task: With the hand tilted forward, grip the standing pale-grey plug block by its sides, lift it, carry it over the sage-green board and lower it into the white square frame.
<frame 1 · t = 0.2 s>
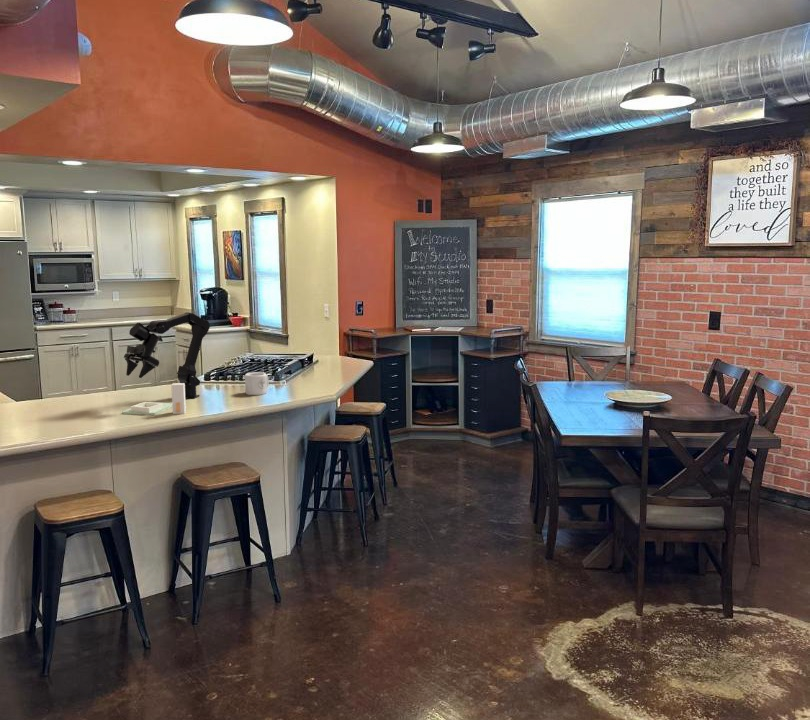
hand: (133, 376, 308), 15 cm above the countertop, tool tilted 35°, fingers open, 9 cm apart
mug: (258, 393, 348), on the countertop
board: (149, 409, 309), on the countertop
plug: (179, 412, 303), on the countertop
white square frame: (147, 411, 305), resting on board
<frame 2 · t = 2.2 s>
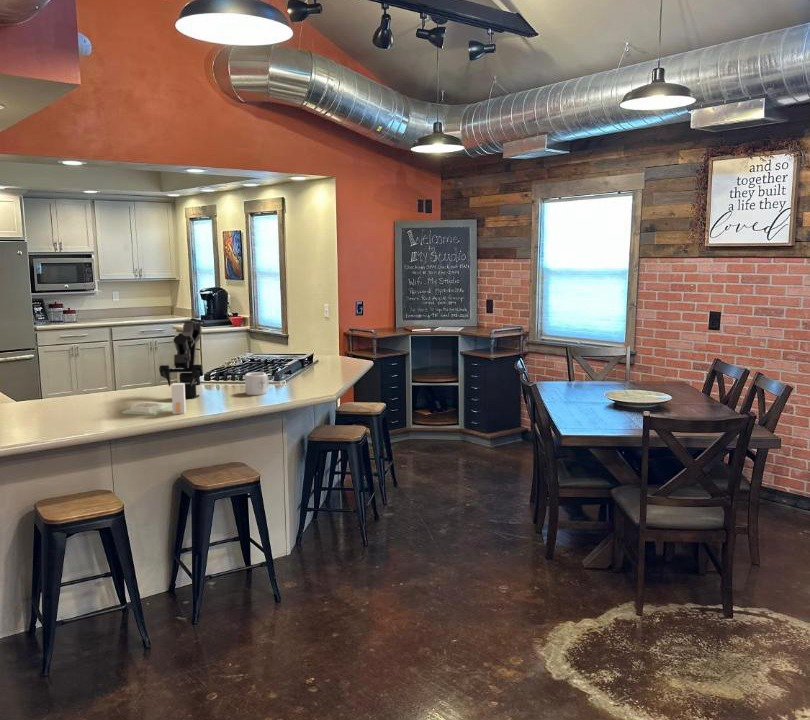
hand: (180, 385, 306), 11 cm above the countertop, tool tilted 45°, fingers open, 9 cm apart
nothing on the countertop moved.
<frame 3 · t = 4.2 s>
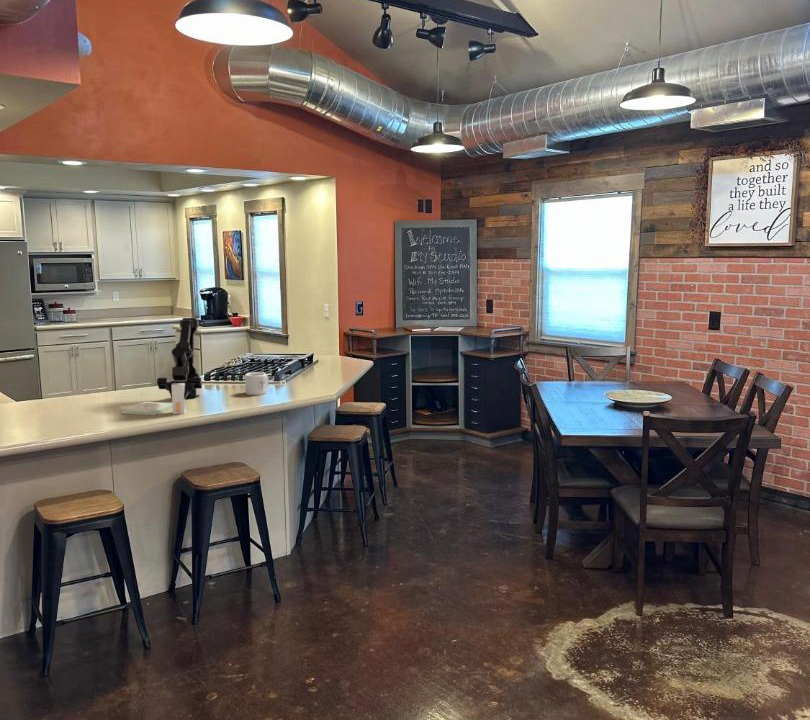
hand: (178, 398, 301), 7 cm above the countertop, tool tilted 45°, fingers closed on plug, 5 cm apart
plug: (179, 412, 303), on the countertop, touching gripper
everything else where it was.
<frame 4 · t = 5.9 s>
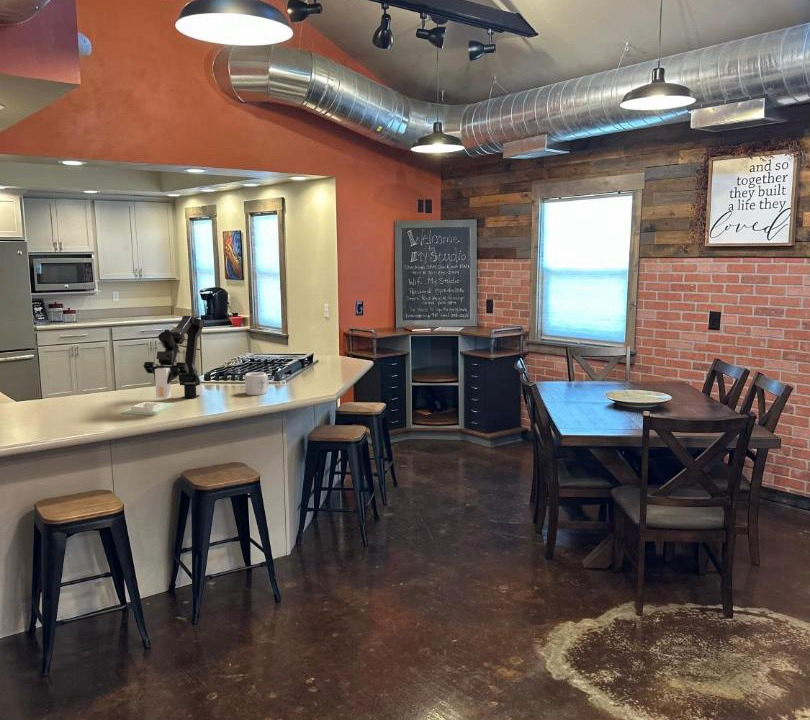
hand: (161, 383, 300), 13 cm above the countertop, tool tilted 45°, fingers closed on plug, 5 cm apart
plug: (163, 397, 302), point 7 cm above the countertop, touching gripper
everything else where it was.
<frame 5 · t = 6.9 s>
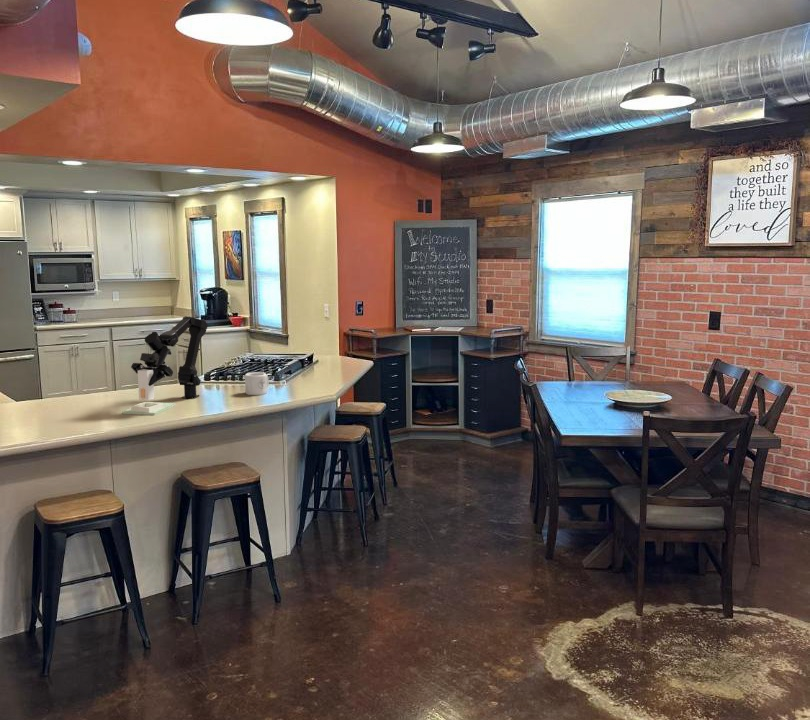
hand: (144, 385, 302), 12 cm above the countertop, tool tilted 45°, fingers closed on plug, 5 cm apart
plug: (146, 399, 304), point 6 cm above the countertop, touching gripper
everything else where it was.
when the fingers open (9 cm above the countertop, at t = 7.8 s): plug drops 2 cm, resting on board.
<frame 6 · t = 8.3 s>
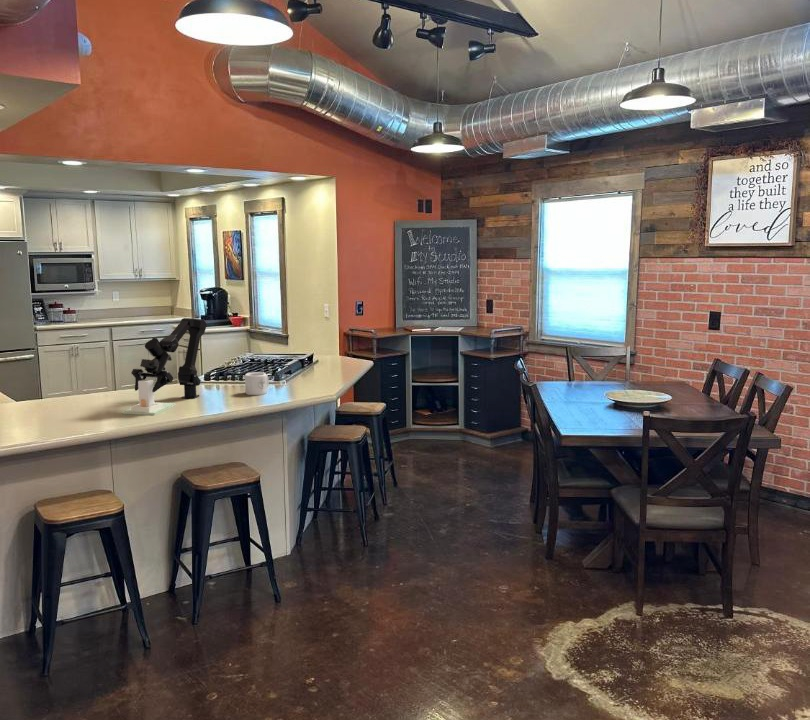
hand: (144, 391, 302), 10 cm above the countertop, tool tilted 45°, fingers open, 9 cm apart
plug: (147, 409, 305), point 1 cm above the countertop, touching board
everything else where it was.
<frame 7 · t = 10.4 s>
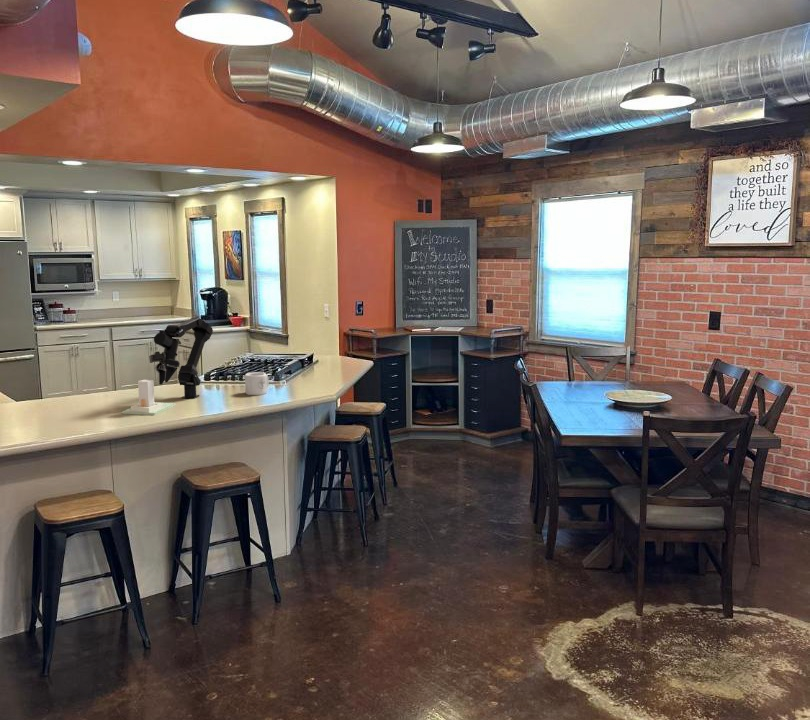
hand: (163, 383, 313), 11 cm above the countertop, tool tilted 25°, fingers open, 9 cm apart
nothing on the countertop moved.
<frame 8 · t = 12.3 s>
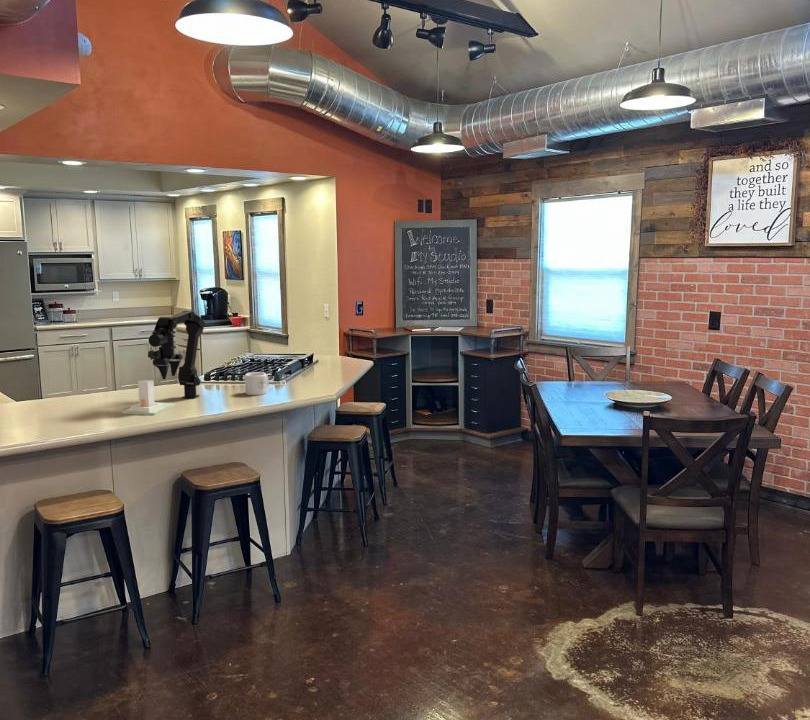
hand: (168, 377, 316), 13 cm above the countertop, tool pointing down, fingers open, 9 cm apart
nothing on the countertop moved.
at the end: plug inside the target area on the white square frame (0.0 cm from its centre), point 1.0 cm above the white square frame's base; plug tilted 0°; the gripper is holding nothing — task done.
